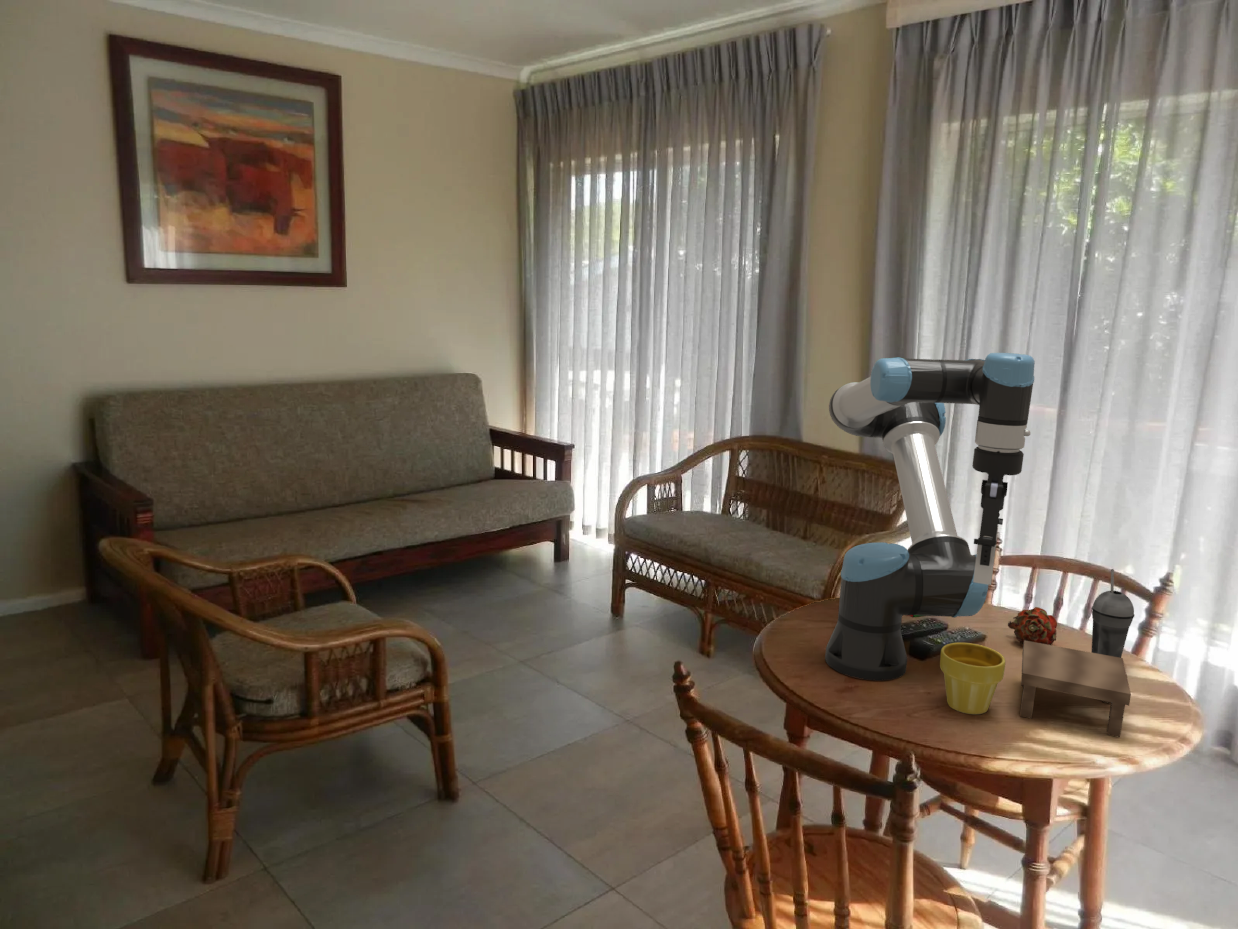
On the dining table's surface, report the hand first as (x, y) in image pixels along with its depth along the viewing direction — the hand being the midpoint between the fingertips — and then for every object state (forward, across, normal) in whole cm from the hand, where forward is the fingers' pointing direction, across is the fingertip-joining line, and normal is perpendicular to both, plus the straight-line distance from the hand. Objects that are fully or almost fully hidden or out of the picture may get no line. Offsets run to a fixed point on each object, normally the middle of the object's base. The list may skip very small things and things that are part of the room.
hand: (984, 571), depth 148 cm
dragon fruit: (+25, +37, -10) cm, 46 cm away
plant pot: (+25, 0, 0) cm, 25 cm away
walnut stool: (+25, +8, -16) cm, 30 cm away
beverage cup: (+25, +30, -23) cm, 46 cm away
